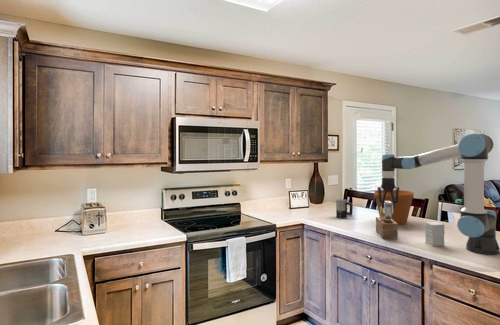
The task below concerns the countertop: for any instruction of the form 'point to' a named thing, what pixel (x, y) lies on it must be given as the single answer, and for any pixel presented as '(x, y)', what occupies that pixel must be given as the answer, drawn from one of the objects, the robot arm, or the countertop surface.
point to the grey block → (388, 209)
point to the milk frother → (343, 208)
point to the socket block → (387, 228)
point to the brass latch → (382, 214)
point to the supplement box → (434, 233)
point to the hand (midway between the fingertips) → (388, 213)
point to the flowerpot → (398, 205)
